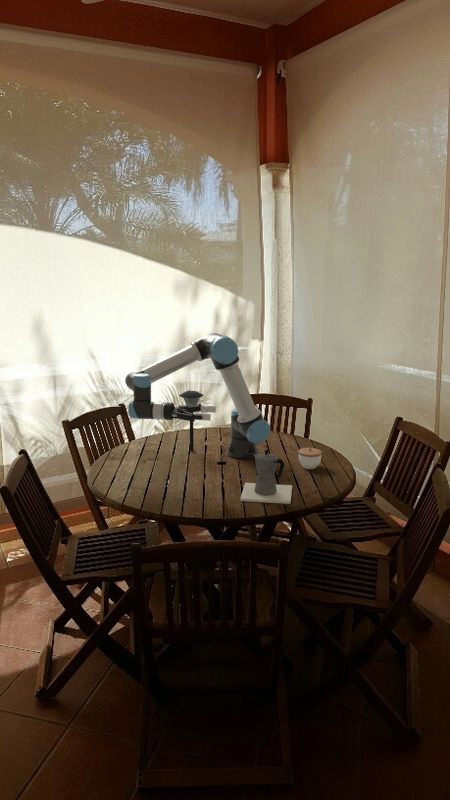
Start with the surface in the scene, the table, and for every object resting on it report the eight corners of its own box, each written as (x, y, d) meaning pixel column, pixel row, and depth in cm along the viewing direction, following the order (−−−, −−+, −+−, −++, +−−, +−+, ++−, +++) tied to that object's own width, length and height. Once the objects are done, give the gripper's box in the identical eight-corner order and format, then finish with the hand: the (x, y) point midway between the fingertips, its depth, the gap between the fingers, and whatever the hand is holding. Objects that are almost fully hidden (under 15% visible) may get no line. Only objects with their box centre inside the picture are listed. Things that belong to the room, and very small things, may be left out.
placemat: (245, 484, 267) (245, 482, 266) (292, 487, 264) (292, 485, 264) (240, 500, 249) (240, 498, 249) (290, 503, 247) (290, 501, 246)
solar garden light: (203, 454, 307) (203, 394, 301) (178, 453, 307) (178, 394, 301) (204, 446, 319) (204, 389, 313) (180, 446, 319) (179, 389, 313)
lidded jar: (320, 471, 284) (321, 452, 282) (296, 469, 286) (297, 450, 284) (321, 464, 294) (322, 445, 292) (298, 462, 296) (299, 443, 294)
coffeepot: (245, 490, 257) (246, 449, 253) (259, 484, 264) (260, 444, 260) (276, 500, 247) (277, 457, 243) (289, 493, 254) (291, 451, 250)
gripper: (171, 412, 281) (217, 414, 279) (157, 427, 257) (208, 429, 255) (170, 396, 280) (217, 398, 277) (157, 409, 256) (208, 411, 253)
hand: (213, 413), depth 266 cm, fingers open, 13 cm apart
